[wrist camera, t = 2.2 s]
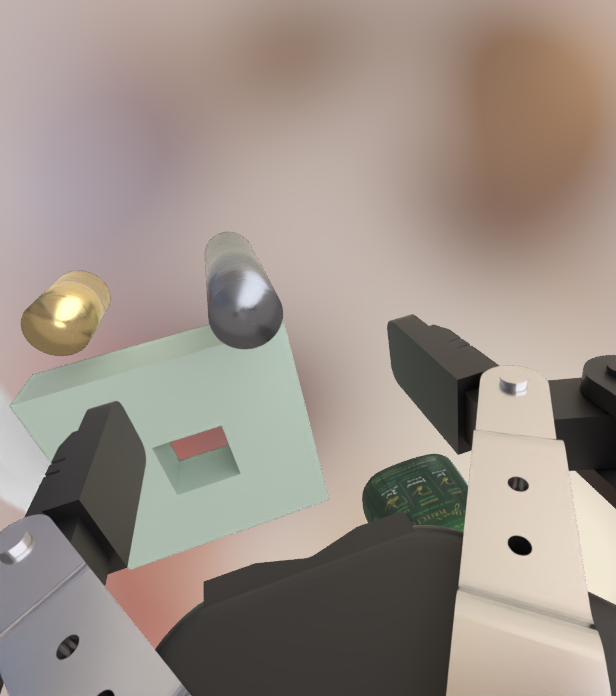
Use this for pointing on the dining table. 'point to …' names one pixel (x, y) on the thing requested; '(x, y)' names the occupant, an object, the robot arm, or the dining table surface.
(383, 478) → the coffee jar
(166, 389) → the hole block
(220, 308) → the long pin
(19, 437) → the dining table surface
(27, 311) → the short pin
